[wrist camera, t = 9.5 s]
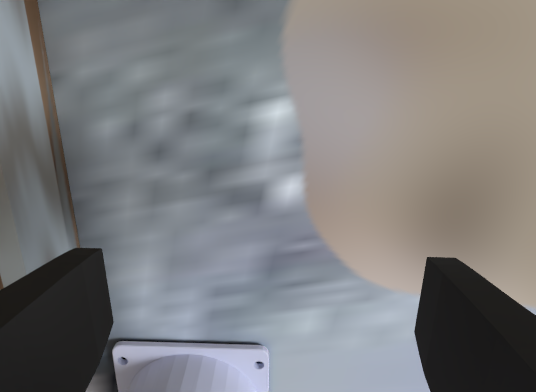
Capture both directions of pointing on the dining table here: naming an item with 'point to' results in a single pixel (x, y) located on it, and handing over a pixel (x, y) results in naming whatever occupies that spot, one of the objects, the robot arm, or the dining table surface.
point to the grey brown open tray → (29, 150)
